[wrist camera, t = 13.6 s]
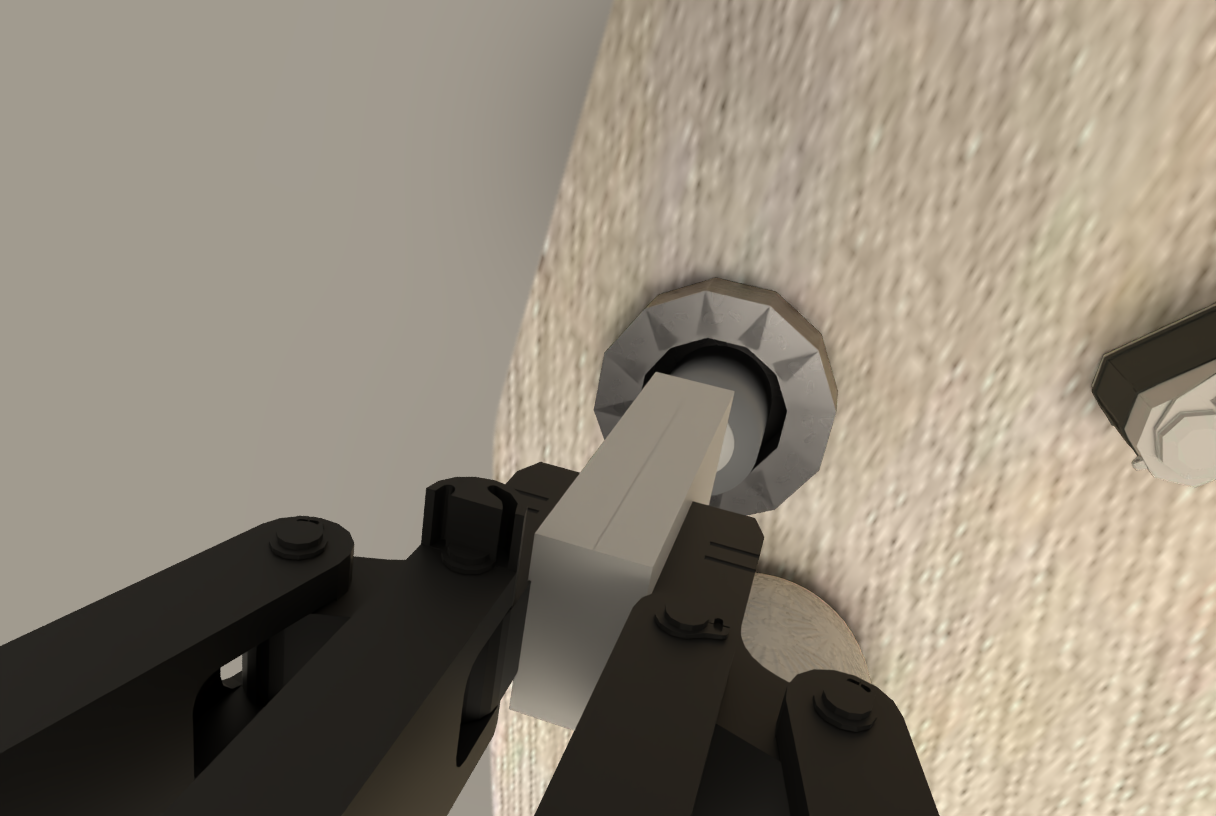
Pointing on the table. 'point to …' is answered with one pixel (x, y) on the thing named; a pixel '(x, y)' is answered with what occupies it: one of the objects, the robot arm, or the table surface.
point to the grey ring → (764, 335)
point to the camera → (1166, 398)
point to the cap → (733, 406)
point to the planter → (797, 631)
